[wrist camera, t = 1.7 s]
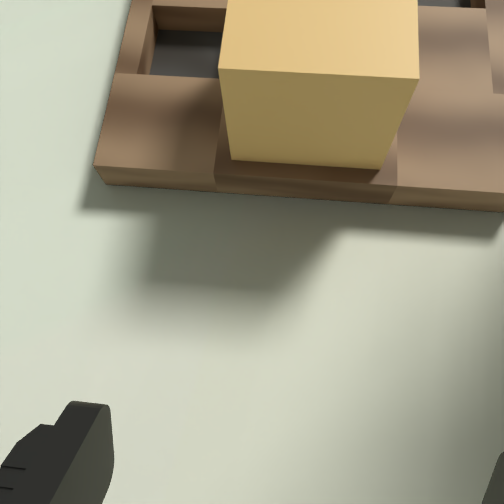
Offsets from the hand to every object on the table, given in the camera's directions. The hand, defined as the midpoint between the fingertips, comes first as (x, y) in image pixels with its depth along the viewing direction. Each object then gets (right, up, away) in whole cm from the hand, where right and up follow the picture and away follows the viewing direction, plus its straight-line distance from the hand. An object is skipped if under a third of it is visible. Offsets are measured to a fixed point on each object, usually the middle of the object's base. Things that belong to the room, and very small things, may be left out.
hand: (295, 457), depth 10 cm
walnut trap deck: (+4, +21, +26) cm, 33 cm away
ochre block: (+3, +14, +21) cm, 25 cm away
